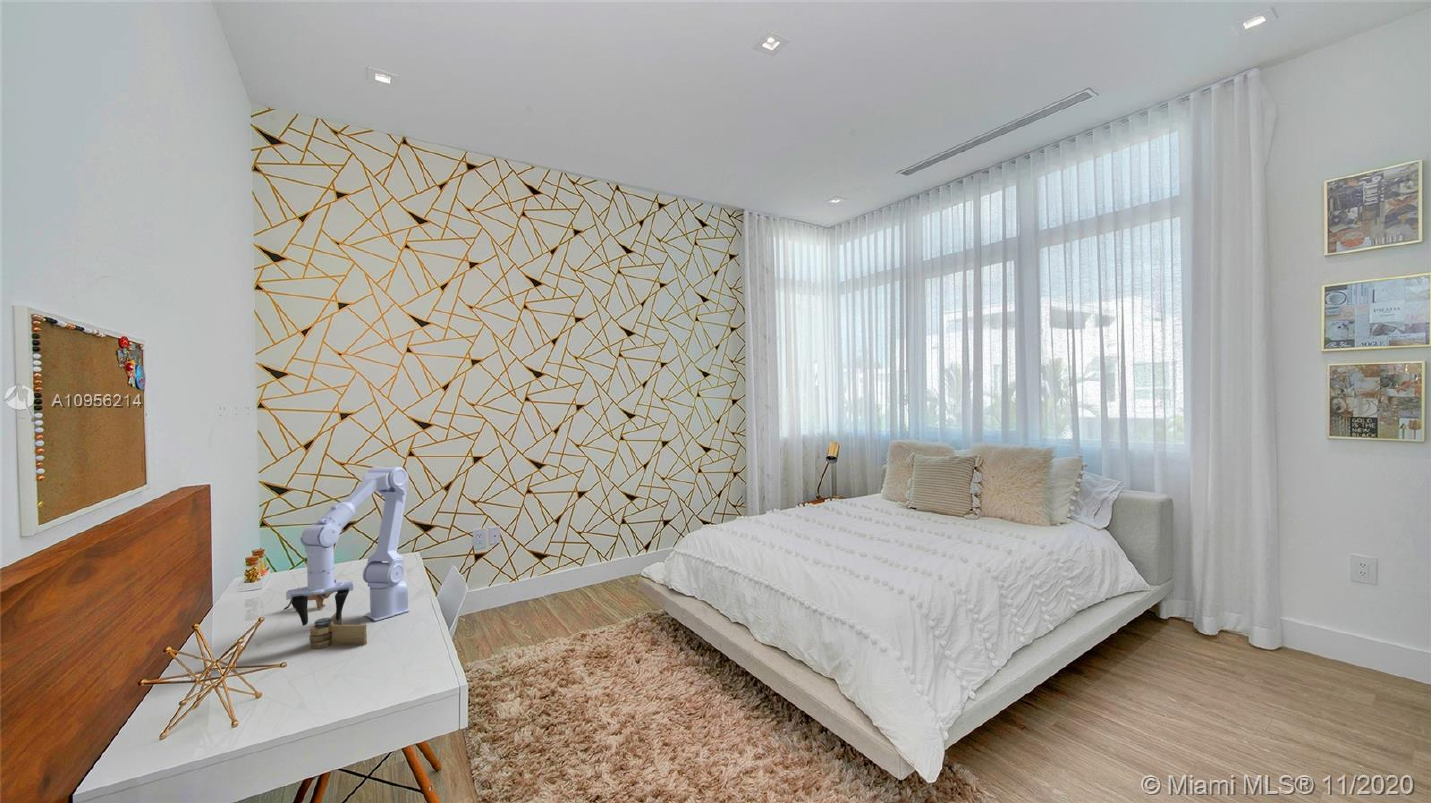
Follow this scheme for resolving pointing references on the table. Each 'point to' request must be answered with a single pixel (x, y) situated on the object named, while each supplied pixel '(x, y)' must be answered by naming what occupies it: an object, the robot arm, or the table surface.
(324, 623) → the hinge pin
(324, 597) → the lion figurine
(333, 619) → the leaf
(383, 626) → the table surface
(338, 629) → the tan hinge leaf
